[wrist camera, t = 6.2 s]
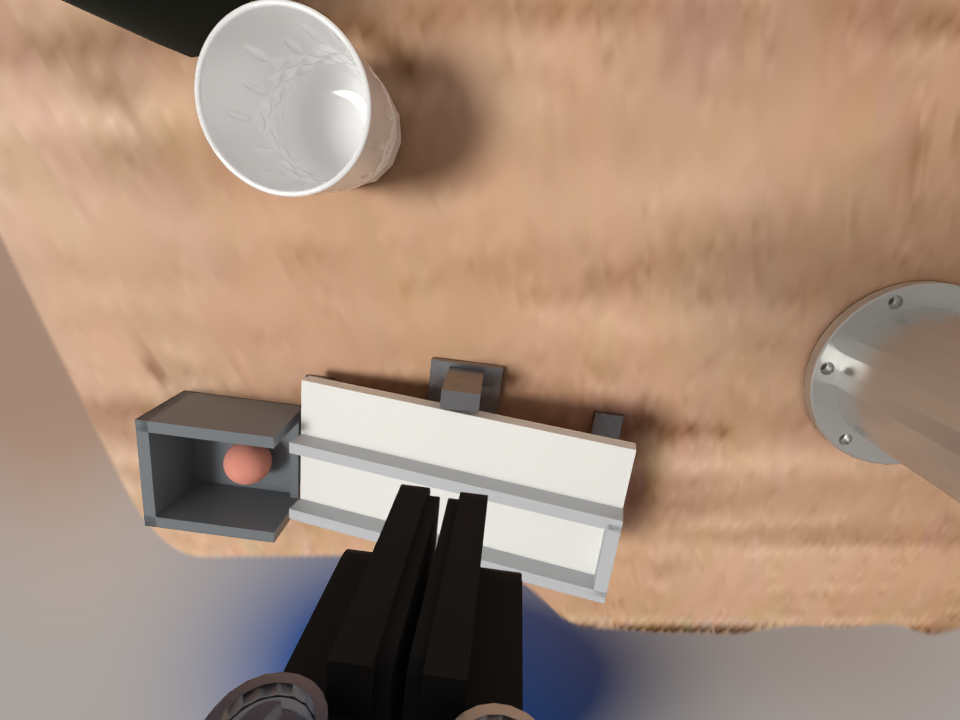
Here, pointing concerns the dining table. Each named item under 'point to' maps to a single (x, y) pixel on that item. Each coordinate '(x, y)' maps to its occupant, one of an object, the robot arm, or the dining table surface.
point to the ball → (247, 463)
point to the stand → (487, 391)
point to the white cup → (293, 102)
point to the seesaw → (466, 479)
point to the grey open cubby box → (217, 465)
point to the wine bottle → (164, 19)
